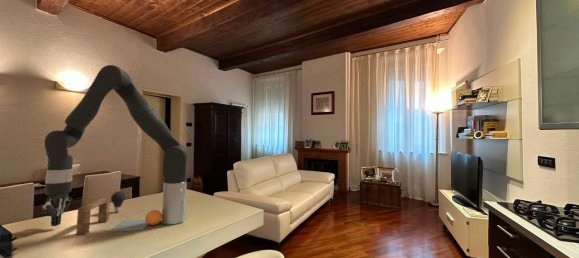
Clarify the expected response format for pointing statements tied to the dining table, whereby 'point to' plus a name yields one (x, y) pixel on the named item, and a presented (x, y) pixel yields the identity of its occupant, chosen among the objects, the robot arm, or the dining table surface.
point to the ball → (153, 217)
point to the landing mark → (130, 225)
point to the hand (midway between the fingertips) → (55, 225)
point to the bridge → (84, 215)
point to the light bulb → (118, 200)
